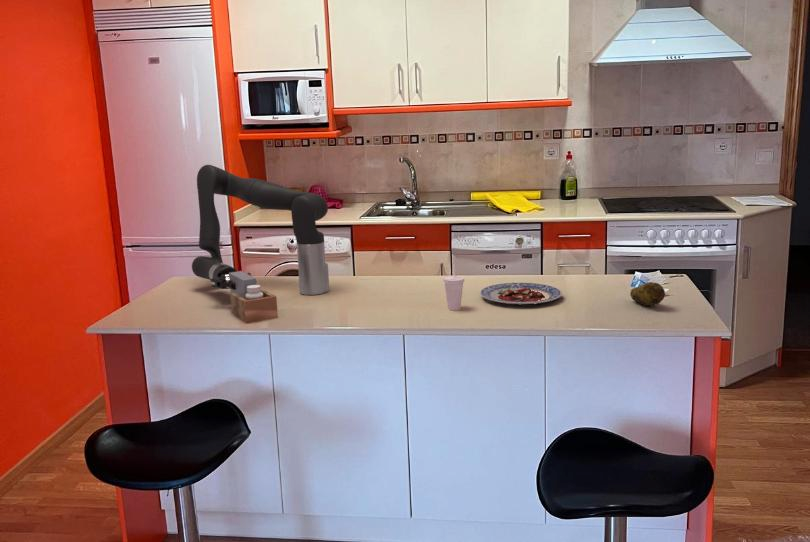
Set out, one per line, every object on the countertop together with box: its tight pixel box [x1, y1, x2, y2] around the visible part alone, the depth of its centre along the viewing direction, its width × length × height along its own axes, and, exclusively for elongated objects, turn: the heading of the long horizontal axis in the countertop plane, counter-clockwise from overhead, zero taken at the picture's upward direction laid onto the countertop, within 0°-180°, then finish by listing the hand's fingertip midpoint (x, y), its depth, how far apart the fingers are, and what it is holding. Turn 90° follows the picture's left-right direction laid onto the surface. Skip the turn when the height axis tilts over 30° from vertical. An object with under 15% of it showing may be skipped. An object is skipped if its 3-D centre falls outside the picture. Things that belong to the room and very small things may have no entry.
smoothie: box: [443, 263, 465, 311], centre depth 227 cm, size 6×6×14 cm
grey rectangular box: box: [229, 270, 258, 299], centre depth 234 cm, size 13×4×10 cm, turn 32°
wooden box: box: [229, 287, 279, 324], centre depth 228 cm, size 13×10×6 cm
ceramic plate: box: [479, 282, 563, 305], centre depth 238 cm, size 26×26×3 cm
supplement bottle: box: [245, 284, 264, 300], centre depth 226 cm, size 5×5×10 cm
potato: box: [629, 281, 666, 306], centre depth 224 cm, size 8×13×8 cm, turn 176°
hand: (241, 285), depth 234 cm, fingers closed on grey rectangular box, 4 cm apart
